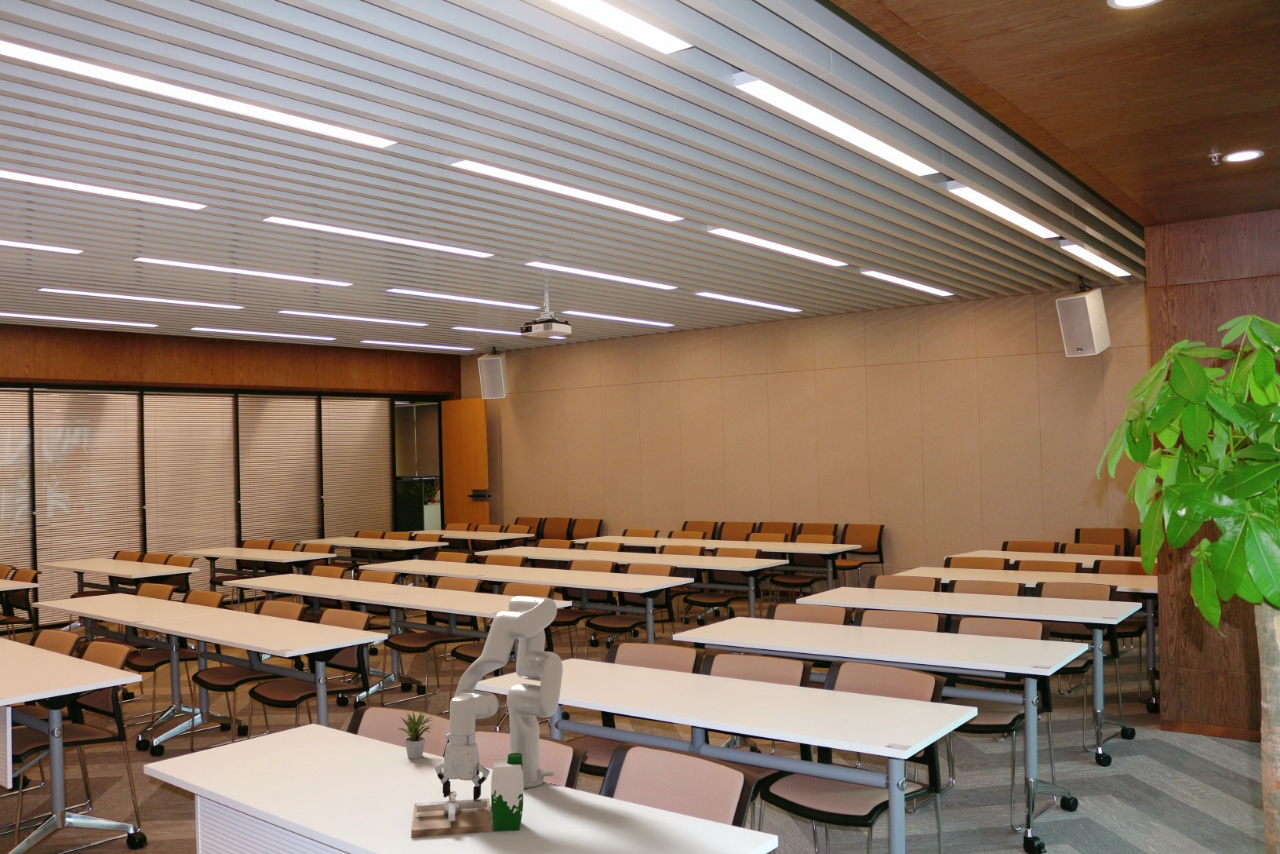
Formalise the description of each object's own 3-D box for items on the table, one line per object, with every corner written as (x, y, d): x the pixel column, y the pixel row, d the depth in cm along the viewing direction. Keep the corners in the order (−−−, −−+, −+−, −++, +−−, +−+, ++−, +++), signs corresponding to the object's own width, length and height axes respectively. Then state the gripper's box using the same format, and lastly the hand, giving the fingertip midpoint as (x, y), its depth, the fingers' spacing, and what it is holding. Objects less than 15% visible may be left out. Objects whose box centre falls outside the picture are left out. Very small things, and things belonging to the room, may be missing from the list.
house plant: (430, 763, 331) (430, 716, 332) (390, 763, 331) (391, 716, 332) (439, 751, 346) (439, 706, 346) (401, 751, 346) (401, 706, 347)
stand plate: (489, 805, 289) (489, 797, 289) (491, 831, 268) (491, 823, 268) (414, 810, 285) (414, 802, 285) (411, 837, 263) (411, 829, 263)
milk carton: (522, 831, 267) (522, 759, 268) (490, 832, 267) (490, 760, 268) (523, 820, 276) (523, 750, 277) (492, 821, 275) (492, 751, 276)
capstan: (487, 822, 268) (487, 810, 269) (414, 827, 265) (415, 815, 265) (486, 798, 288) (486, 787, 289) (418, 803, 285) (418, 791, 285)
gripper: (430, 740, 284) (429, 799, 283) (483, 744, 279) (483, 804, 278) (441, 733, 291) (441, 791, 290) (494, 737, 286) (493, 796, 285)
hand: (461, 797), depth 284 cm, fingers open, 9 cm apart
